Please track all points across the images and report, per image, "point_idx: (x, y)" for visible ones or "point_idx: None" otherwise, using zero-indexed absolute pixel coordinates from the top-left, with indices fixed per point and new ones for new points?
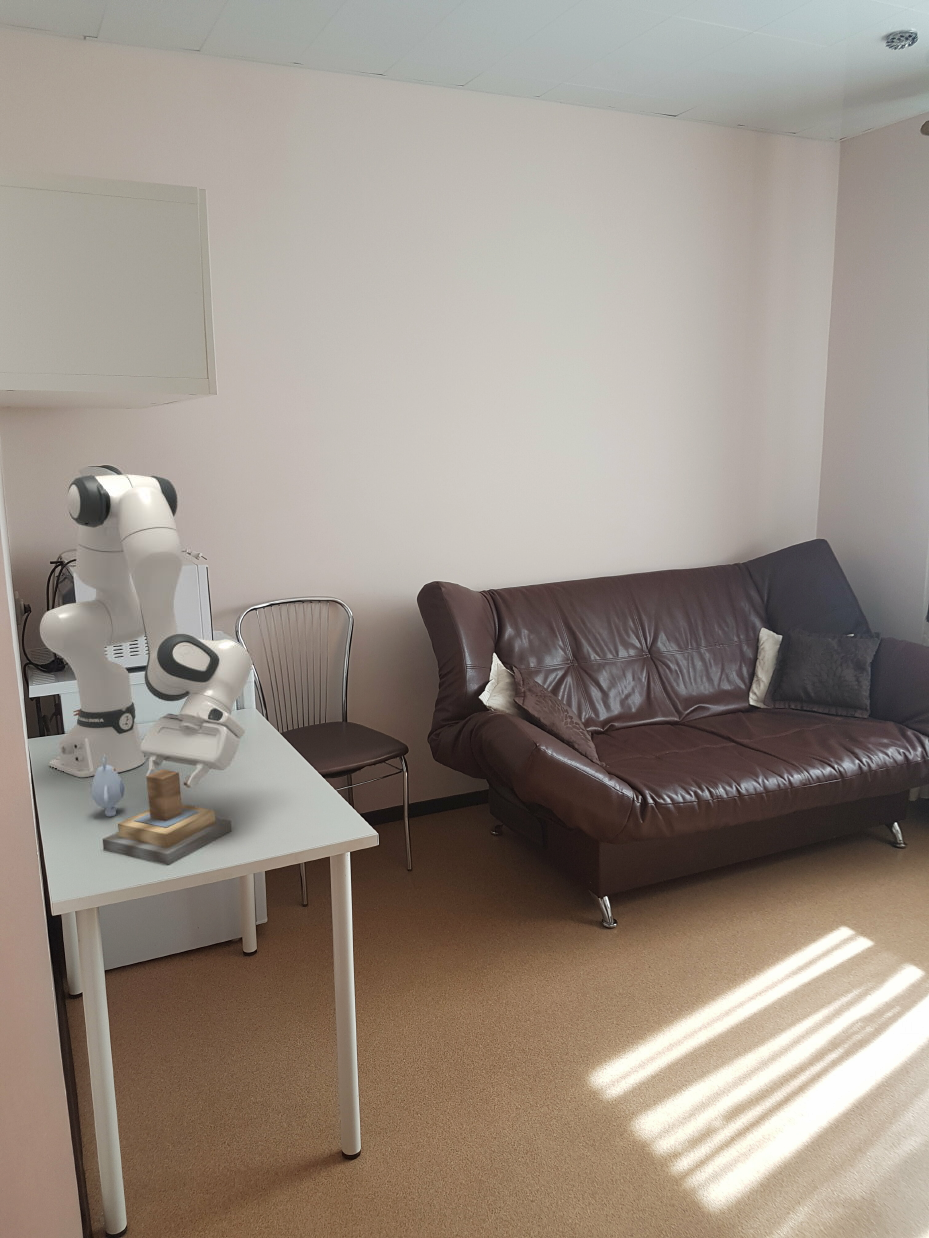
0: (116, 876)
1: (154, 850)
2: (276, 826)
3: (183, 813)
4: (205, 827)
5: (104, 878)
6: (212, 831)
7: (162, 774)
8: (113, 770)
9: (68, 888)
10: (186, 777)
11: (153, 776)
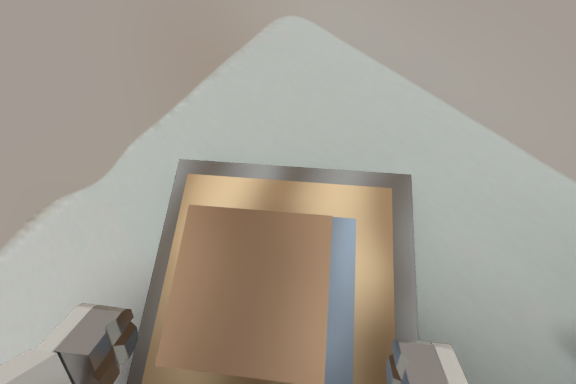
0: (263, 97)
1: (223, 163)
2: None
3: None
4: None
5: (280, 85)
6: (141, 329)
7: (246, 279)
8: None
9: (315, 39)
10: (94, 338)
11: (281, 226)
